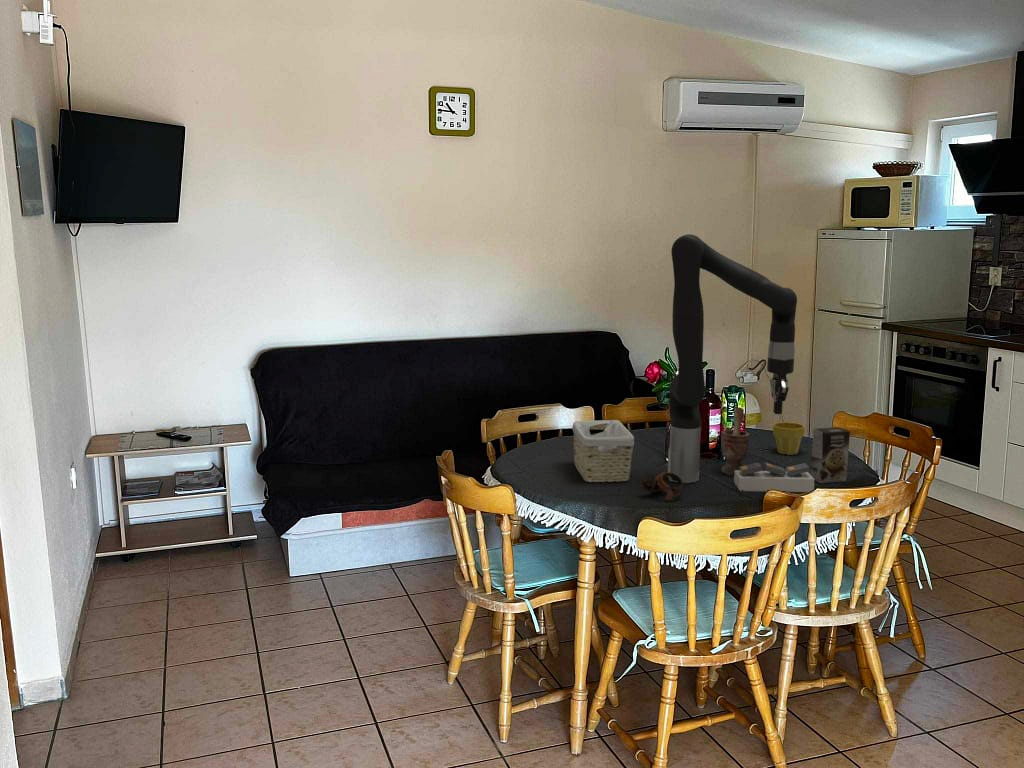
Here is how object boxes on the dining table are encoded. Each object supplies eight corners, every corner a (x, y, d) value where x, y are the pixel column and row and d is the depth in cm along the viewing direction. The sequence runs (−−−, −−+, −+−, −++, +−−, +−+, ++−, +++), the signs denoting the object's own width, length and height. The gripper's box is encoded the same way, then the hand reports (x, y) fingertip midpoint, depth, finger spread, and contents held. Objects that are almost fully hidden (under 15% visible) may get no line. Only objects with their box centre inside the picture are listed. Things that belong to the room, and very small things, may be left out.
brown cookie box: (821, 483, 282) (824, 432, 278) (809, 477, 288) (812, 427, 284) (847, 481, 284) (850, 431, 281) (834, 475, 290) (838, 426, 287)
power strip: (739, 491, 274) (739, 476, 273) (733, 482, 282) (734, 468, 281) (813, 492, 273) (814, 477, 272) (806, 484, 281) (807, 469, 280)
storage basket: (570, 462, 304) (571, 419, 301) (618, 461, 305) (619, 418, 302) (582, 485, 280) (583, 438, 278) (634, 483, 282) (636, 437, 279)
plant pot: (768, 448, 322) (770, 421, 320) (798, 448, 321) (800, 421, 319) (775, 456, 311) (777, 428, 310) (806, 456, 311) (808, 428, 309)
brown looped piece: (671, 491, 276) (682, 471, 271) (676, 513, 268) (688, 494, 264) (634, 483, 273) (645, 463, 269) (639, 506, 266) (650, 486, 261)
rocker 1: (742, 475, 275) (741, 470, 275) (740, 471, 280) (738, 466, 279) (762, 470, 275) (761, 465, 274) (759, 466, 279) (758, 461, 279)
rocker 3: (790, 476, 275) (789, 471, 274) (786, 471, 279) (785, 467, 279) (810, 471, 274) (809, 466, 274) (806, 467, 278) (805, 462, 278)
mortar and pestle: (715, 465, 301) (718, 406, 297) (742, 465, 300) (745, 406, 296) (722, 476, 289) (725, 414, 285) (749, 476, 289) (753, 414, 285)
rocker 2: (765, 470, 275) (767, 465, 274) (762, 466, 279) (763, 461, 279) (784, 476, 275) (786, 471, 274) (781, 471, 279) (782, 467, 279)
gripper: (763, 352, 277) (759, 408, 280) (773, 360, 264) (769, 418, 267) (788, 352, 276) (784, 408, 280) (799, 360, 263) (795, 419, 267)
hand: (777, 413), depth 273 cm, fingers closed
